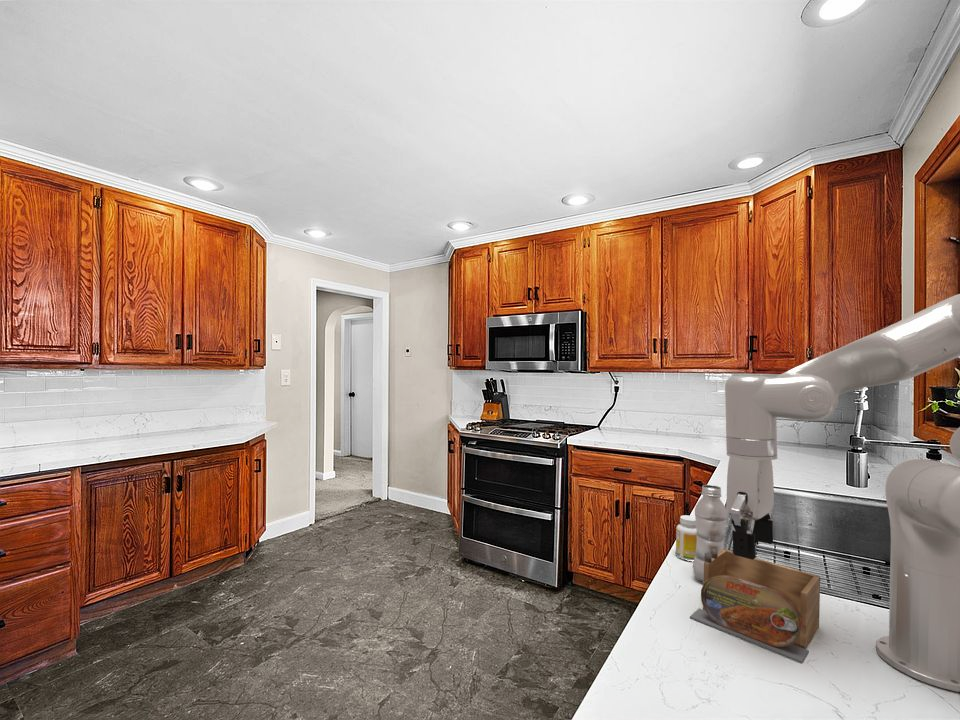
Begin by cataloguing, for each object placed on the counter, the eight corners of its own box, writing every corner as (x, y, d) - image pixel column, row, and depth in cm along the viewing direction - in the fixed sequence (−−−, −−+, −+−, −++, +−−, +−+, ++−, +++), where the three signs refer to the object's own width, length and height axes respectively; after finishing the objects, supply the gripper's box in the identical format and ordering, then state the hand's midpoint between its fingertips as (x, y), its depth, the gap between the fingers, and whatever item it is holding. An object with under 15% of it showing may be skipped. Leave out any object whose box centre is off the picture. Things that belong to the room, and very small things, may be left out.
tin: (699, 617, 84) (700, 570, 84) (706, 611, 86) (707, 565, 86) (798, 657, 73) (800, 603, 73) (803, 649, 75) (805, 596, 75)
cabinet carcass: (819, 627, 82) (820, 568, 82) (805, 650, 75) (806, 585, 75) (721, 593, 94) (722, 541, 94) (701, 610, 87) (703, 554, 87)
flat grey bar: (808, 652, 75) (808, 650, 75) (802, 663, 72) (802, 661, 72) (699, 609, 87) (699, 608, 87) (689, 618, 84) (689, 616, 84)
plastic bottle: (687, 580, 99) (689, 486, 100) (700, 571, 104) (702, 481, 104) (718, 591, 95) (721, 492, 95) (731, 581, 99) (733, 487, 99)
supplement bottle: (671, 555, 112) (672, 515, 112) (684, 551, 115) (685, 512, 115) (691, 564, 108) (692, 522, 108) (705, 559, 111) (706, 519, 111)
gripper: (743, 440, 88) (746, 531, 88) (708, 451, 76) (711, 557, 76) (790, 444, 83) (792, 541, 82) (760, 457, 71) (763, 570, 70)
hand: (753, 548), depth 79 cm, fingers open, 9 cm apart
